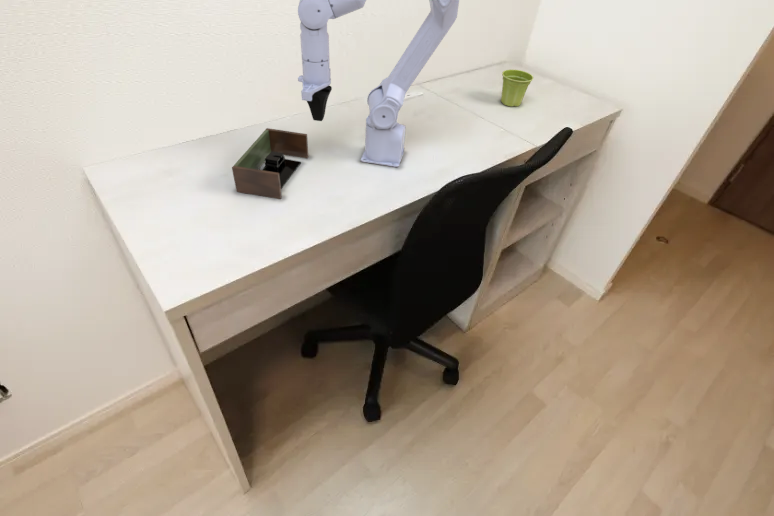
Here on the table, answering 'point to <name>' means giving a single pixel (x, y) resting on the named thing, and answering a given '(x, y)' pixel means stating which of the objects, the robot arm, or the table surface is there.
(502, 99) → the plant pot
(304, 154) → the stall
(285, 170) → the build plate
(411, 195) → the table surface
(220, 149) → the table surface
